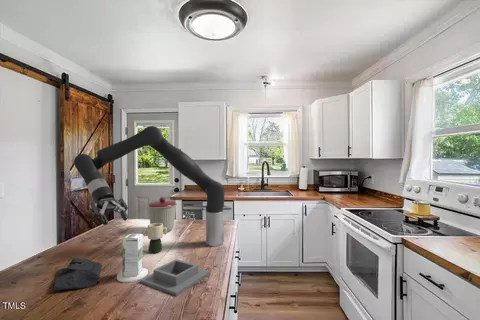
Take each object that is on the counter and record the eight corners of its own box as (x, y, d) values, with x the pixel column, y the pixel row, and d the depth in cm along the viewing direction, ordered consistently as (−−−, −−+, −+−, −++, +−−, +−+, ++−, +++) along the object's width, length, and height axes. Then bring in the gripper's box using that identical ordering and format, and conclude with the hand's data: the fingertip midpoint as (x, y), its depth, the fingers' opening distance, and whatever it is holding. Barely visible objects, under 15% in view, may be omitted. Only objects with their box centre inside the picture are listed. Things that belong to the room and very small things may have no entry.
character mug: (166, 247, 127) (166, 222, 127) (167, 252, 120) (167, 225, 120) (143, 250, 123) (143, 224, 123) (143, 255, 116) (143, 227, 116)
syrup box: (128, 270, 99) (128, 233, 99) (143, 269, 99) (143, 233, 99) (122, 276, 93) (122, 238, 93) (138, 276, 94) (138, 237, 94)
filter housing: (176, 264, 106) (176, 255, 106) (210, 274, 97) (210, 264, 97) (140, 282, 91) (140, 271, 91) (176, 295, 82) (176, 283, 82)
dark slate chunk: (44, 297, 82) (43, 283, 82) (60, 270, 102) (60, 259, 102) (97, 287, 88) (97, 274, 88) (103, 264, 108) (103, 253, 108)
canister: (155, 226, 168) (155, 195, 168) (181, 227, 165) (181, 195, 165) (141, 234, 150) (141, 199, 150) (170, 235, 147) (170, 199, 147)
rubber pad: (135, 267, 104) (135, 265, 104) (154, 273, 98) (154, 271, 98) (110, 278, 94) (110, 275, 94) (129, 285, 89) (129, 283, 89)
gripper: (86, 187, 99) (103, 219, 94) (119, 184, 112) (136, 212, 106) (79, 199, 102) (95, 231, 96) (112, 195, 114) (128, 223, 109)
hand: (116, 221), depth 101 cm, fingers open, 8 cm apart
